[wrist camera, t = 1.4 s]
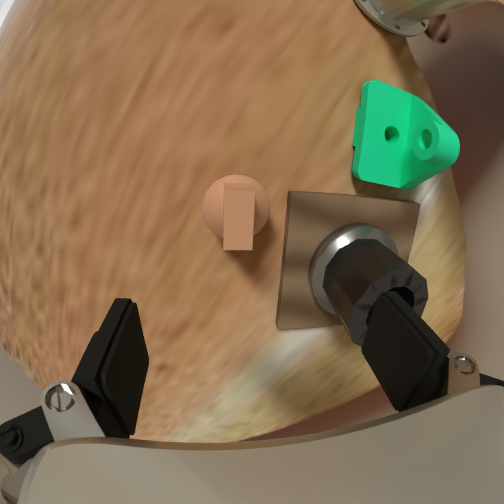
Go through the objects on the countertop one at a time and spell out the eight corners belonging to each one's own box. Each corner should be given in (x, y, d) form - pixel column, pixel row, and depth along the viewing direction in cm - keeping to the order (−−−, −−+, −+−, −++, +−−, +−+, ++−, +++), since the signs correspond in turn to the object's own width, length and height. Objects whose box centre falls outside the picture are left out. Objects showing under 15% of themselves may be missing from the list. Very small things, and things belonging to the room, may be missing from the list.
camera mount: (358, 80, 26) (409, 66, 17) (408, 99, 27) (463, 96, 18) (346, 175, 31) (394, 194, 21) (396, 185, 32) (449, 207, 23)
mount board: (288, 190, 31) (291, 193, 29) (413, 201, 33) (420, 204, 31) (275, 322, 38) (277, 329, 36) (385, 313, 40) (390, 318, 38)
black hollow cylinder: (314, 220, 31) (352, 257, 22) (399, 224, 32) (449, 256, 23) (302, 310, 36) (325, 363, 26) (379, 304, 37) (414, 347, 28)
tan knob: (204, 169, 29) (198, 181, 21) (264, 170, 30) (280, 183, 21) (204, 225, 31) (199, 257, 23) (261, 225, 32) (275, 257, 24)
